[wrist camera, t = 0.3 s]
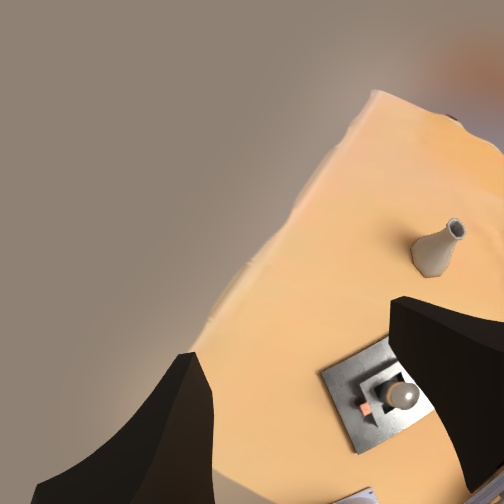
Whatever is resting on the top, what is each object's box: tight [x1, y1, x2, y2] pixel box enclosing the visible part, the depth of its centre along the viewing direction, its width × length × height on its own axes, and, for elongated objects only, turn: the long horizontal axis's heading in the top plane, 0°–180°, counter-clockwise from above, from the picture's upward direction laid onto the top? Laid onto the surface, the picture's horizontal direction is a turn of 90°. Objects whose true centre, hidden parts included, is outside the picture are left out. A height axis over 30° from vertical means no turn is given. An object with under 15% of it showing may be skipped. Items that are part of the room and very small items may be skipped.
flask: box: [411, 219, 466, 278], centre depth 33 cm, size 7×7×10 cm
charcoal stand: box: [321, 336, 434, 455], centre depth 29 cm, size 14×14×4 cm
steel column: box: [376, 380, 420, 410], centre depth 27 cm, size 3×3×8 cm
